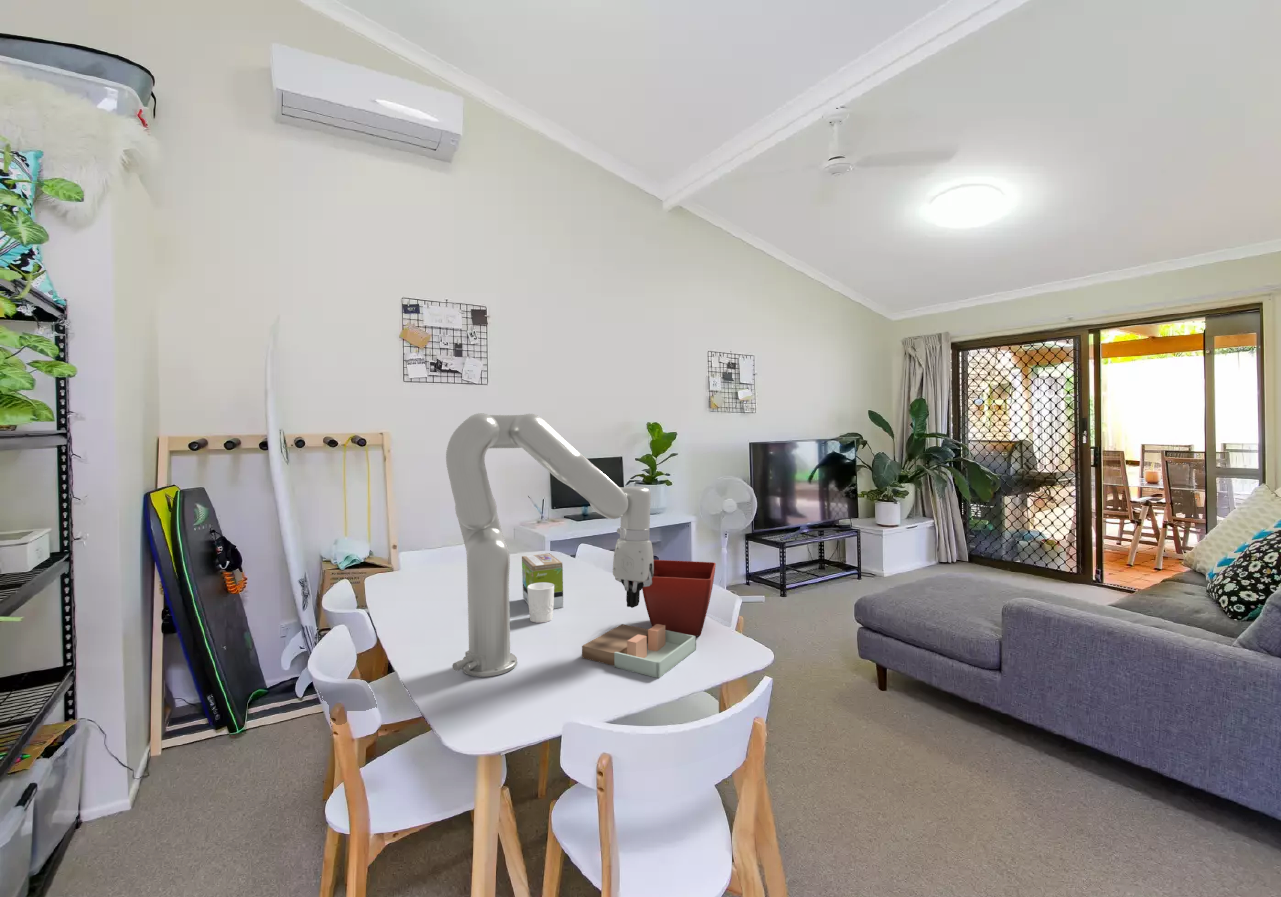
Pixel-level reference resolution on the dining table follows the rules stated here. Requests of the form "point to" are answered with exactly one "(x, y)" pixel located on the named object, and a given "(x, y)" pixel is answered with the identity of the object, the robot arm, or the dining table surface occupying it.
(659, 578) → the plant pot
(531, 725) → the dining table surface
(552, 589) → the white cup
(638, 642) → the tile
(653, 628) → the tile
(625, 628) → the board
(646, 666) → the tray
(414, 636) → the dining table surface
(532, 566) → the tea box
